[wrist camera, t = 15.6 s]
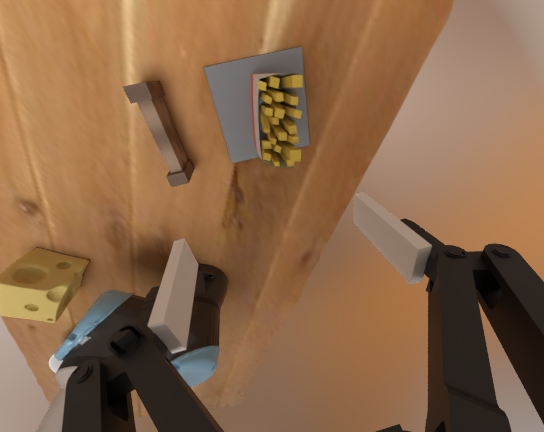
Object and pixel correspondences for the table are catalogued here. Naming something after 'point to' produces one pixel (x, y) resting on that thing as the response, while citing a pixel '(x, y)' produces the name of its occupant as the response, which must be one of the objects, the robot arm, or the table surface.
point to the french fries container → (276, 117)
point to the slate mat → (237, 98)
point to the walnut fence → (162, 129)
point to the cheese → (40, 285)
